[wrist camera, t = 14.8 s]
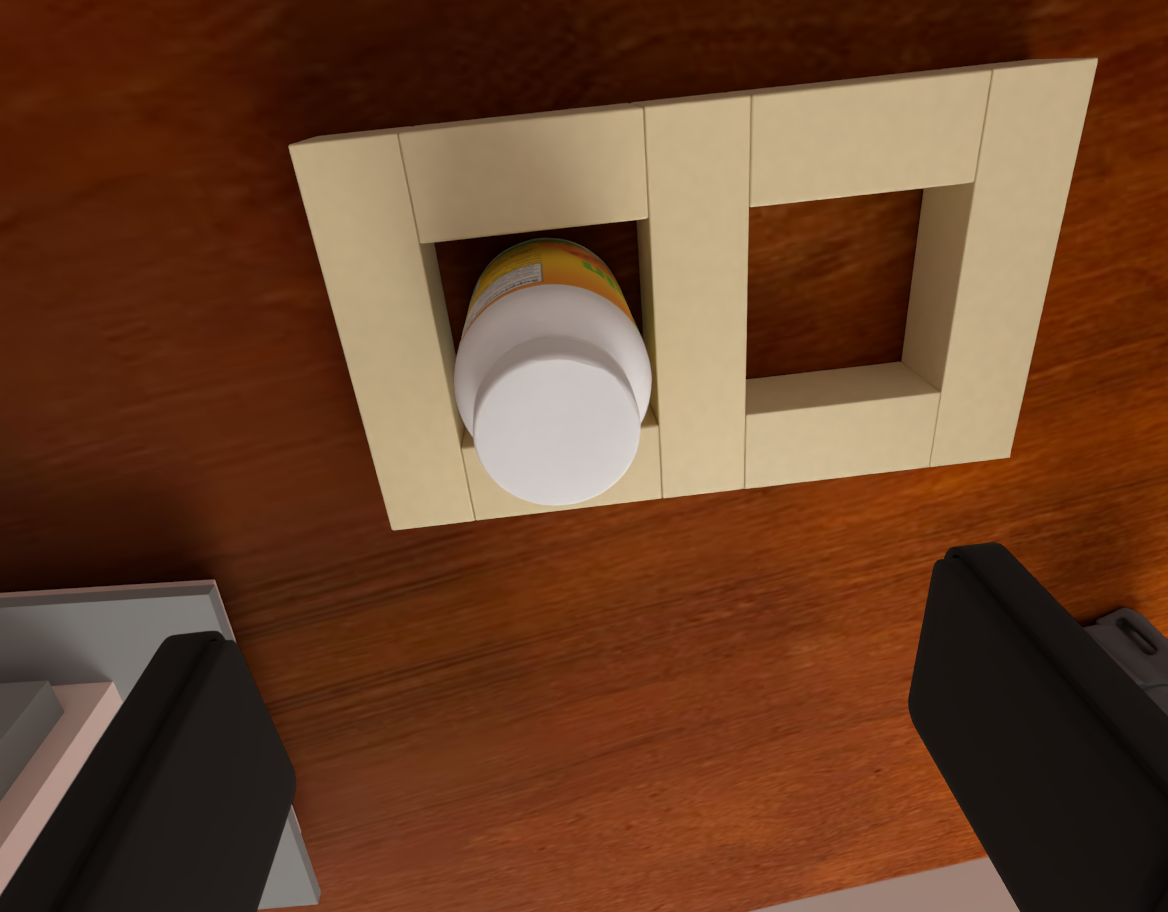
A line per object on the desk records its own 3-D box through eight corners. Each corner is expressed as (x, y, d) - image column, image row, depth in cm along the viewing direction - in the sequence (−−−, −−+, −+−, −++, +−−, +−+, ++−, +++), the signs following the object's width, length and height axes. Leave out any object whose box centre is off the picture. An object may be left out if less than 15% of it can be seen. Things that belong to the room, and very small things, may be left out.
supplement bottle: (649, 335, 26) (710, 464, 17) (525, 408, 27) (525, 564, 18) (572, 202, 23) (598, 276, 15) (439, 288, 24) (392, 404, 16)
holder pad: (404, 488, 28) (391, 531, 25) (315, 136, 22) (286, 144, 19) (965, 422, 29) (1009, 458, 26) (1031, 59, 22) (1099, 57, 20)
